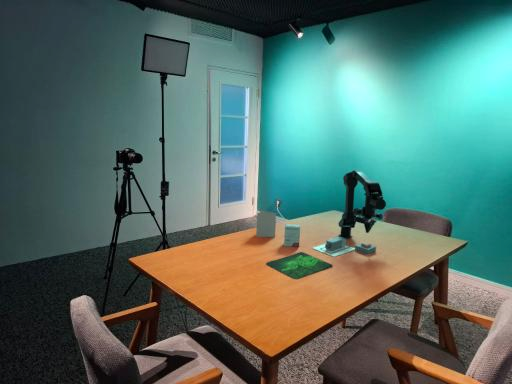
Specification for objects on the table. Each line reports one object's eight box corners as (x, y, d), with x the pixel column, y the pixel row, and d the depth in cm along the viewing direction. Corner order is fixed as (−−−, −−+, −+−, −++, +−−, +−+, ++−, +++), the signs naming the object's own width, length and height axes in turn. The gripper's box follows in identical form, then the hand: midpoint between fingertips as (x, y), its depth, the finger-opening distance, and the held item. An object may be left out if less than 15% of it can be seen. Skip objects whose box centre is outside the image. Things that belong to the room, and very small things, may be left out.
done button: (364, 246, 193) (365, 241, 193) (370, 248, 190) (371, 243, 190) (360, 248, 191) (361, 243, 190) (366, 250, 188) (367, 245, 187)
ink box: (298, 244, 198) (300, 224, 196) (299, 247, 193) (300, 227, 191) (283, 243, 199) (285, 223, 196) (283, 246, 194) (284, 226, 192)
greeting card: (275, 236, 209) (276, 213, 206) (269, 240, 203) (270, 215, 200) (259, 233, 215) (260, 209, 212) (253, 236, 209) (254, 212, 206)
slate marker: (339, 244, 198) (339, 236, 197) (345, 246, 195) (345, 238, 194) (323, 249, 189) (324, 241, 188) (329, 252, 186) (330, 243, 185)
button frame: (363, 247, 196) (363, 242, 196) (375, 251, 190) (376, 246, 190) (354, 250, 191) (355, 245, 191) (367, 254, 185) (368, 249, 185)
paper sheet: (334, 241, 204) (334, 241, 204) (356, 249, 193) (356, 248, 193) (312, 248, 192) (312, 247, 192) (334, 257, 180) (334, 256, 180)
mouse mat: (295, 281, 152) (295, 279, 152) (263, 264, 168) (263, 262, 168) (334, 266, 169) (334, 265, 169) (301, 253, 186) (301, 251, 185)
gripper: (366, 200, 198) (364, 226, 201) (347, 204, 186) (344, 231, 189) (384, 204, 189) (381, 231, 192) (365, 208, 178) (362, 237, 181)
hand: (367, 232), depth 189 cm, fingers closed
